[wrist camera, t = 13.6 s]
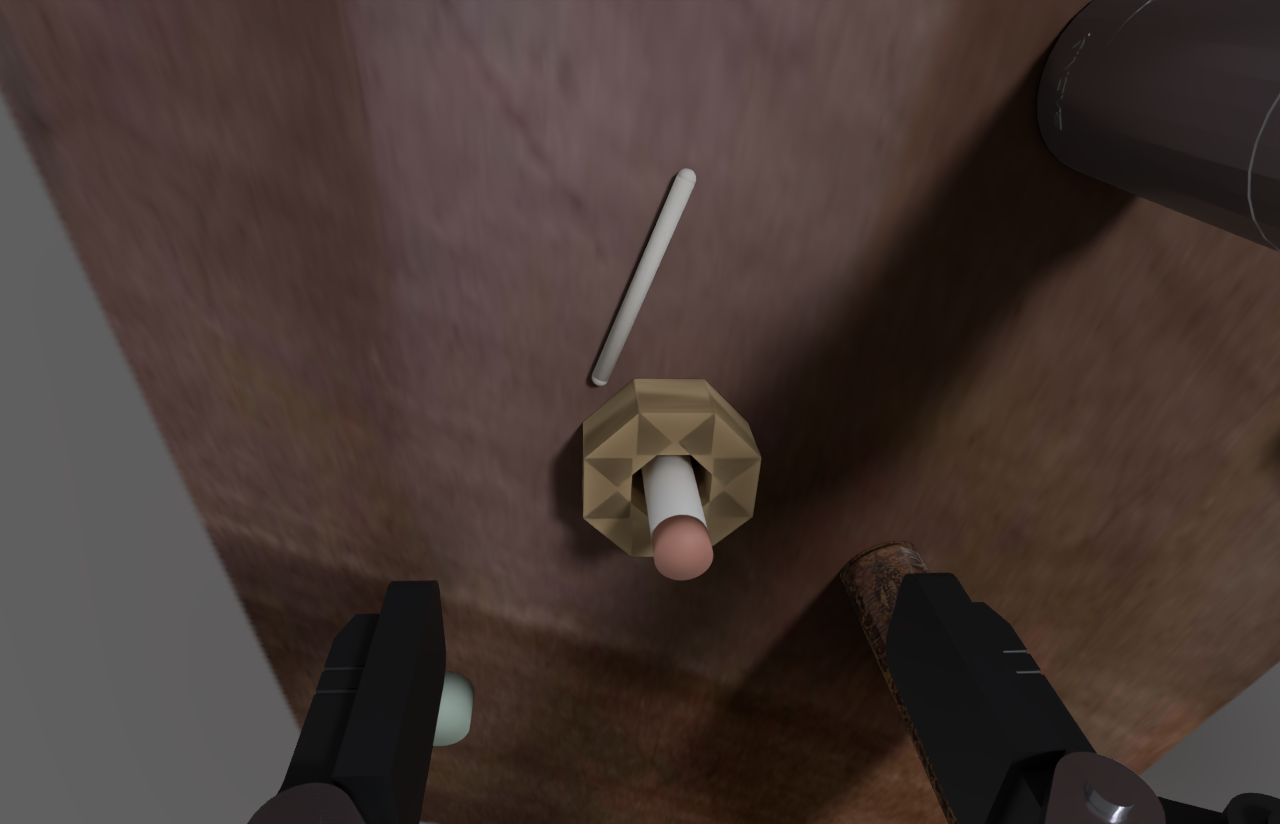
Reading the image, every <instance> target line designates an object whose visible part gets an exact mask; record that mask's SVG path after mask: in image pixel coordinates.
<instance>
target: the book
mask: <svg viewBox="0 0 1280 824" xmlns="http://www.w3.org/2000/svg"><path fill="white" fill-rule="evenodd" d="M909 573H930V572H929V571H928V569H927V567H926V566H925V564H924V562H923V561H922V559H921V557H920V556H919V554H918V552H917V551H916V549H915V547H914V546H913V544H911V543H909V542H904V541H893V542H887V543H883V544H880V545H877V546H874V547H872V548H869V549H867V550H865V551H863V552H862V553H860V554H858V555H857V556H855V557H854V558H853V559H851V560H850V561H849V562H848V563H847V564H846V565H845V567H844V568H843V570H842V572H841V574H840V579H841V581H842V583H843V586H844V588H845V590H846V592H847V595H848V597H849V599H850V601H851V604H852V606H853V608H854V611H855V613H856V615H857V617H858V620H859V622H860V624H861V626H862V629H863V631H864V633H865V635H866V638H867V640H868V642H869V645H870V647H871V649H872V651H873V654H874V656H875V658H876V660H877V663H878V665H879V667H880V669H881V672H882V674H883V676H884V678H885V681H886V683H887V685H888V688H889V690H890V692H891V694H892V697H893V699H894V701H895V703H896V706H897V708H898V710H899V712H900V715H901V717H902V719H903V721H904V724H905V726H906V728H907V731H908V733H909V735H910V737H911V740H912V742H913V744H914V746H915V749H916V751H917V753H918V755H919V758H920V760H921V762H922V764H923V767H924V769H925V771H926V774H927V776H928V778H929V780H930V783H931V785H932V787H933V789H934V792H935V794H936V796H937V798H938V801H939V803H940V805H941V808H942V810H943V812H944V814H945V817H946V819H947V821H948V823H949V824H959V823H958V821H957V819H956V817H955V815H954V812H953V810H952V808H951V806H950V804H949V801H948V799H947V797H946V795H945V793H944V790H943V788H942V786H941V784H940V782H939V779H938V777H937V775H936V773H935V771H934V768H933V766H932V764H931V762H930V759H929V757H928V755H927V753H926V751H925V748H924V746H923V744H922V742H921V740H920V737H919V735H918V733H917V731H916V729H915V726H914V724H913V722H912V720H911V718H910V715H909V713H908V711H907V709H906V707H905V704H904V702H903V700H902V698H901V696H900V693H899V691H898V689H897V687H896V685H895V682H894V680H893V678H892V676H891V673H890V671H889V668H888V664H887V659H886V650H885V643H886V635H887V631H888V628H889V624H890V621H891V617H892V614H893V610H894V607H895V603H896V599H897V596H898V592H899V589H900V585H901V582H902V579H903V578H904V576H905V575H906V574H909Z"/></svg>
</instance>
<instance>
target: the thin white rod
mask: <svg viewBox="0 0 1280 824" xmlns="http://www.w3.org/2000/svg"><path fill="white" fill-rule="evenodd" d="M695 182H696V175H695V173H694V172H693V171H692V170H691V169H682V170H681V171H679V173H678V174H677V176H676V179H675V181H674V183H673V186H672V188H671V190H670V193H669V195H668V198H667V200H666V202H665V205H664V207H663V209H662V212H661V214H660V216H659V219H658V221H657V223H656V226H655V228H654V230H653V233H652V235H651V237H650V240H649V242H648V244H647V247H646V249H645V251H644V254H643V256H642V258H641V261H640V263H639V266H638V268H637V270H636V273H635V275H634V277H633V280H632V282H631V284H630V287H629V289H628V291H627V294H626V296H625V298H624V301H623V303H622V305H621V308H620V310H619V312H618V315H617V317H616V319H615V322H614V324H613V326H612V329H611V331H610V333H609V336H608V338H607V341H606V343H605V345H604V348H603V350H602V352H601V355H600V357H599V359H598V362H597V364H596V366H595V369H594V371H593V373H592V381H593V382H594V383H595V384H596V385H598V386H603V385H605V384H606V383H607V382H608V380H609V378H610V376H611V374H612V371H613V369H614V367H615V364H616V362H617V360H618V358H619V355H620V353H621V351H622V348H623V346H624V344H625V342H626V339H627V337H628V335H629V333H630V330H631V328H632V326H633V323H634V321H635V319H636V317H637V314H638V312H639V310H640V308H641V305H642V303H643V301H644V298H645V296H646V294H647V292H648V289H649V287H650V285H651V282H652V280H653V278H654V276H655V273H656V271H657V269H658V267H659V264H660V262H661V260H662V257H663V255H664V253H665V251H666V248H667V246H668V244H669V242H670V239H671V237H672V235H673V232H674V230H675V228H676V226H677V223H678V221H679V219H680V217H681V214H682V212H683V210H684V207H685V205H686V203H687V201H688V198H689V196H690V194H691V191H692V189H693V187H694V185H695Z"/></svg>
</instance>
